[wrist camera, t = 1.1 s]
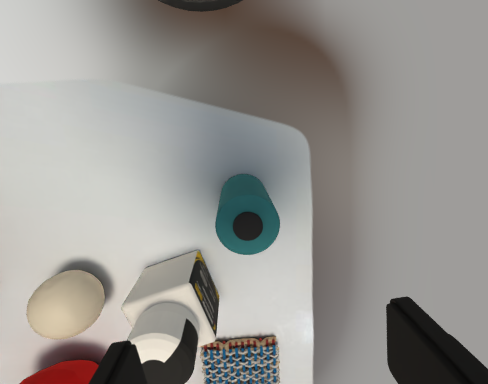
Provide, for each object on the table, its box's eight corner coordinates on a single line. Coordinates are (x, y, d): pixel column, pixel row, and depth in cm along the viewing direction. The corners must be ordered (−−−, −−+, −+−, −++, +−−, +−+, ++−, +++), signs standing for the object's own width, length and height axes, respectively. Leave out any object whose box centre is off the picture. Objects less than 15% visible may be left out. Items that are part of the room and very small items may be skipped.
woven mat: (278, 331, 34) (280, 344, 32) (279, 393, 37) (282, 408, 35) (199, 337, 34) (197, 350, 32) (206, 399, 36) (205, 414, 34)
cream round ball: (42, 272, 31) (-10, 311, 24) (97, 252, 30) (60, 286, 24) (70, 316, 32) (29, 364, 26) (123, 298, 32) (95, 341, 25)
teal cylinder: (217, 177, 29) (209, 201, 20) (262, 170, 29) (276, 190, 20) (224, 221, 30) (221, 261, 21) (268, 214, 30) (284, 251, 21)
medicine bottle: (220, 296, 32) (213, 391, 21) (167, 314, 33) (131, 417, 21) (199, 248, 31) (178, 322, 19) (144, 267, 31) (90, 351, 19)
